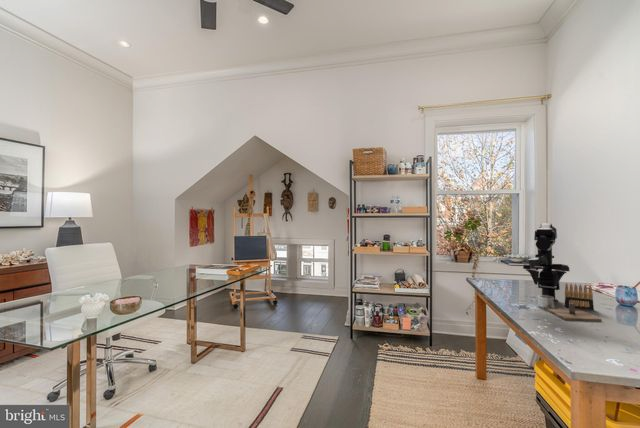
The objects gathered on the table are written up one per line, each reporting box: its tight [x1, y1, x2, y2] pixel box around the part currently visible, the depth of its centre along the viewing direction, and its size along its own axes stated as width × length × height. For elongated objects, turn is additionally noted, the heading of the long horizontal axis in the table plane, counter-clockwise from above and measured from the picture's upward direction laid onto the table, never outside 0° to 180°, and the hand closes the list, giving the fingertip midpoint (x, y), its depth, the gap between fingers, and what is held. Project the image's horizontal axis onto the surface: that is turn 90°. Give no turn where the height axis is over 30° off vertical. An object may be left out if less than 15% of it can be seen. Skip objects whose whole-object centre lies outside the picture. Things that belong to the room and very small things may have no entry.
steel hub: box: [537, 294, 555, 309], centre depth 147 cm, size 6×6×5 cm
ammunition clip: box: [564, 282, 595, 311], centre depth 144 cm, size 11×2×12 cm, turn 55°
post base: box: [545, 302, 603, 323], centre depth 134 cm, size 14×14×6 cm
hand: (545, 285), depth 142 cm, fingers open, 9 cm apart
